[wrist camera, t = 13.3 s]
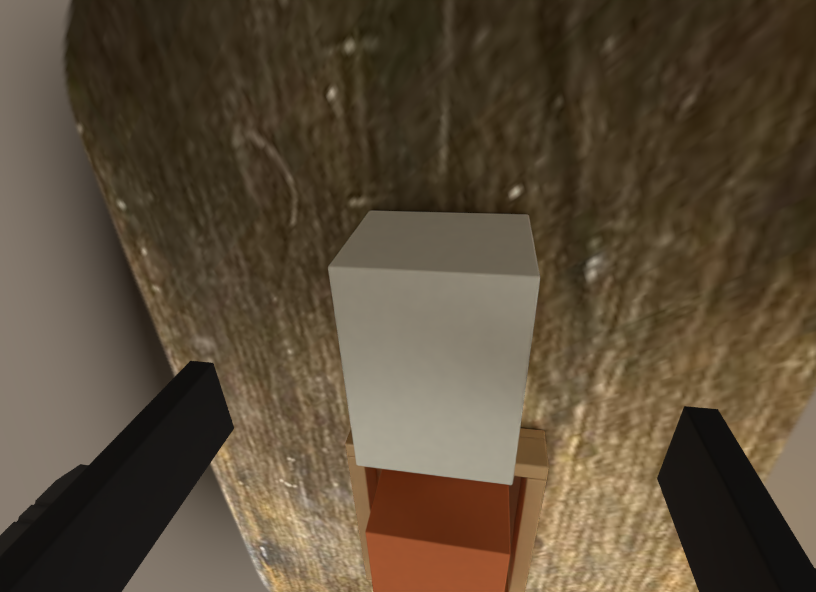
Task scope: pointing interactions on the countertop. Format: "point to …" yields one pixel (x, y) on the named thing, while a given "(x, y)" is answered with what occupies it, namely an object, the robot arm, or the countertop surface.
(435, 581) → the orange rectangular block
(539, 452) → the frame
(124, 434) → the robot arm
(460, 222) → the gray rectangular block
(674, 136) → the countertop surface
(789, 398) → the countertop surface
